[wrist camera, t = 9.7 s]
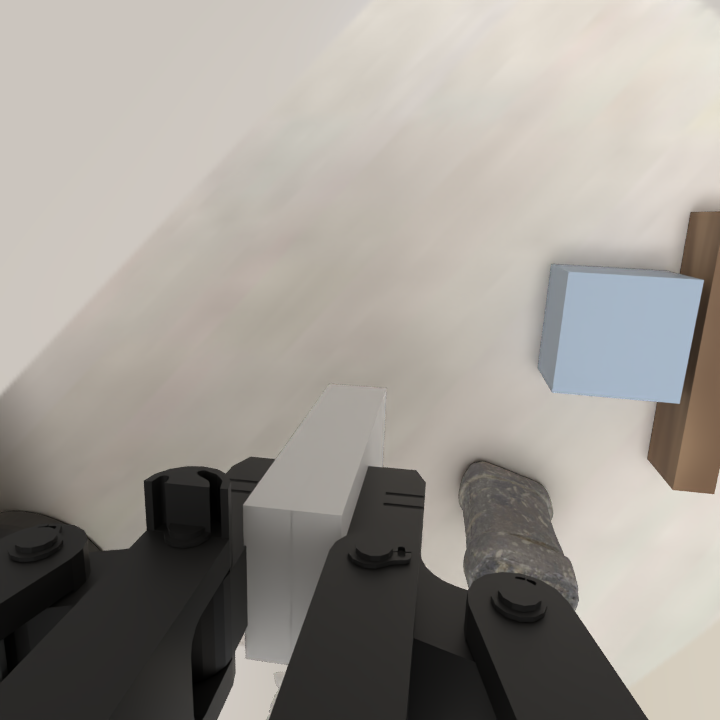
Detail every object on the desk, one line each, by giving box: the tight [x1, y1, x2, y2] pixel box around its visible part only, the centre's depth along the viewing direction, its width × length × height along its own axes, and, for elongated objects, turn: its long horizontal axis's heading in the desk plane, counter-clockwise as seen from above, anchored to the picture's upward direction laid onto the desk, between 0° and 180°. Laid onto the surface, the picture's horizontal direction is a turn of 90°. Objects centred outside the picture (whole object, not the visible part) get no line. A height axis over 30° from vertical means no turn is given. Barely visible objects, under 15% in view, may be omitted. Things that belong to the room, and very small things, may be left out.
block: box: [538, 264, 704, 404], centre depth 30 cm, size 6×6×5 cm
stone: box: [459, 462, 579, 611], centre depth 31 cm, size 3×6×10 cm, turn 69°
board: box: [647, 212, 720, 494], centre depth 30 cm, size 2×14×4 cm, turn 178°
